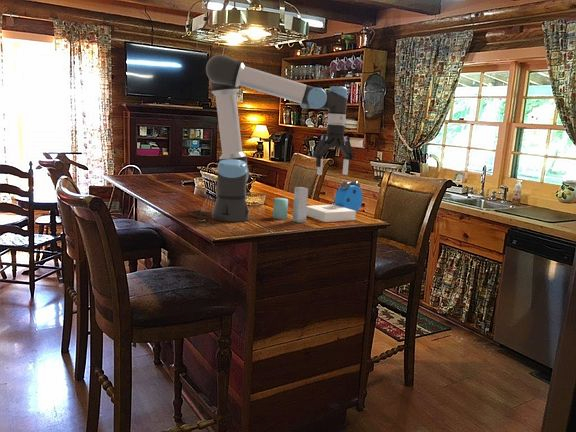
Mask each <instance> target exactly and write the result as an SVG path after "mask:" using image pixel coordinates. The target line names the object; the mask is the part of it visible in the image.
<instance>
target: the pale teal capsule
mask: <svg viewBox="0 0 576 432" xmlns="http://www.w3.org/2000/svg"><path fill="white" fill-rule="evenodd" d="M288 207H289V199H288V198H285V197H274V198H273V209H272V210H273V211H272V213H273V214H272V218H273V219H275V220H287V219H288V210H289V209H288Z"/></svg>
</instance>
